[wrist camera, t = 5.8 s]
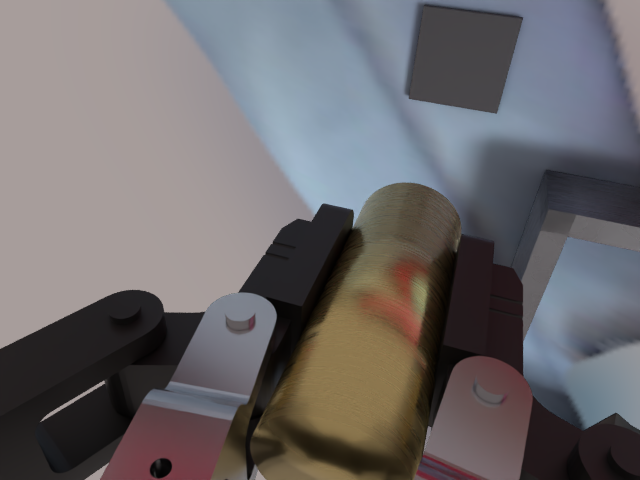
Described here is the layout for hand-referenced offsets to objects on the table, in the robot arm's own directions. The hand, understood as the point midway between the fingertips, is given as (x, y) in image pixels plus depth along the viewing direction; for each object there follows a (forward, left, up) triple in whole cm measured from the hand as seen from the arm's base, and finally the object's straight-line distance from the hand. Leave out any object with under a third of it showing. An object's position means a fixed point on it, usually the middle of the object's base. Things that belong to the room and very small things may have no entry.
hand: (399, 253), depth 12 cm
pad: (0, 0, -16) cm, 16 cm away
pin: (0, 0, -1) cm, 1 cm away
